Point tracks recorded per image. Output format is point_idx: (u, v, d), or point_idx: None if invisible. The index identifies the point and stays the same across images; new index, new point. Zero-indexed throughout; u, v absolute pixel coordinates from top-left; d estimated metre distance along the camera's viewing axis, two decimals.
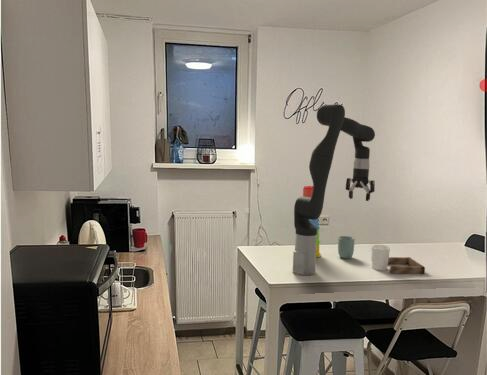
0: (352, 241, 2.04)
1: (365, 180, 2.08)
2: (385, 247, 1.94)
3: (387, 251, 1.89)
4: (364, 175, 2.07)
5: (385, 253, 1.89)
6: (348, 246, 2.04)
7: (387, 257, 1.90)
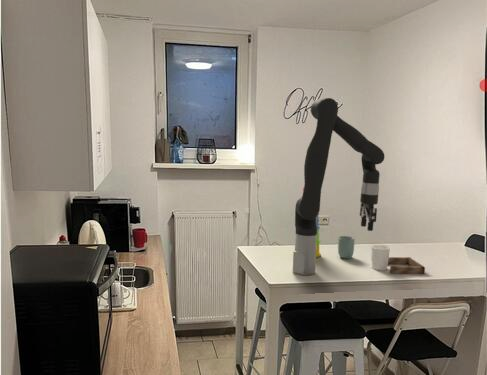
0: (352, 241, 2.04)
1: None
2: (385, 247, 1.94)
3: (387, 251, 1.89)
4: None
5: (385, 253, 1.89)
6: (348, 246, 2.04)
7: (387, 257, 1.90)
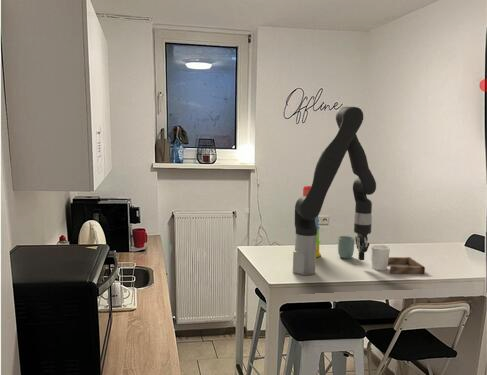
0: (352, 241, 2.04)
1: None
2: (385, 247, 1.94)
3: (387, 251, 1.89)
4: None
5: (385, 253, 1.89)
6: (348, 246, 2.04)
7: (387, 257, 1.90)
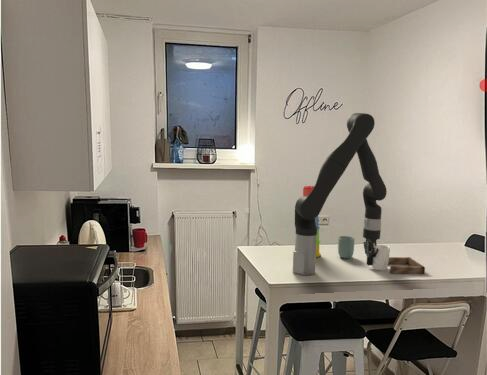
0: (352, 241, 2.04)
1: None
2: (385, 247, 1.94)
3: (387, 251, 1.89)
4: None
5: (385, 253, 1.89)
6: (348, 246, 2.04)
7: (387, 257, 1.90)
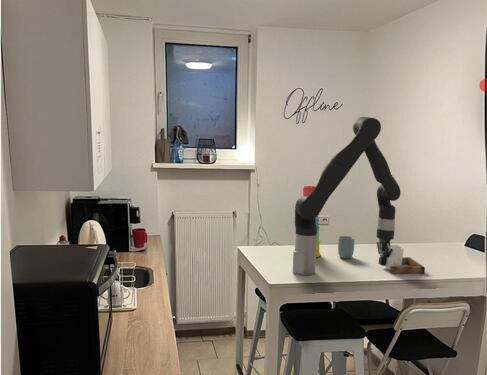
0: (352, 241, 2.04)
1: None
2: (399, 247, 1.94)
3: (401, 251, 1.89)
4: None
5: (399, 253, 1.89)
6: (348, 246, 2.04)
7: (401, 257, 1.90)
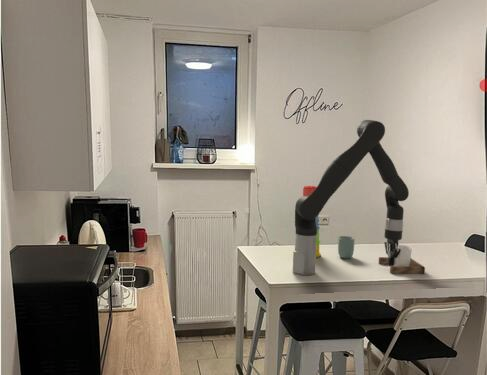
0: (352, 241, 2.04)
1: None
2: (407, 247, 1.94)
3: (409, 251, 1.89)
4: None
5: (407, 253, 1.89)
6: (348, 246, 2.04)
7: (409, 257, 1.90)
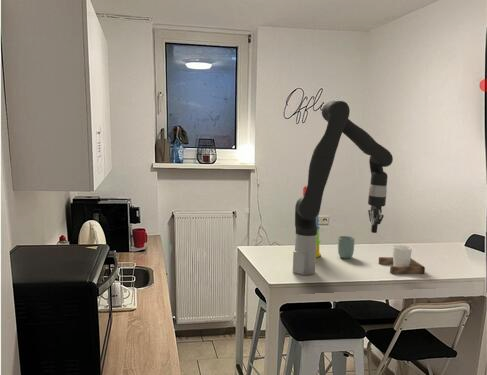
0: (352, 241, 2.04)
1: None
2: (407, 247, 1.94)
3: (409, 251, 1.89)
4: None
5: (407, 253, 1.89)
6: (348, 246, 2.04)
7: (409, 257, 1.90)
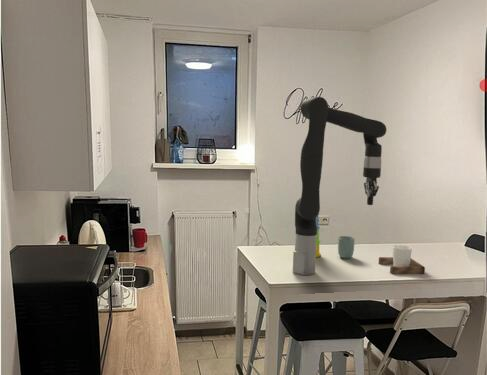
0: (352, 241, 2.04)
1: None
2: (407, 247, 1.94)
3: (409, 251, 1.89)
4: None
5: (407, 253, 1.89)
6: (348, 246, 2.04)
7: (409, 257, 1.90)
